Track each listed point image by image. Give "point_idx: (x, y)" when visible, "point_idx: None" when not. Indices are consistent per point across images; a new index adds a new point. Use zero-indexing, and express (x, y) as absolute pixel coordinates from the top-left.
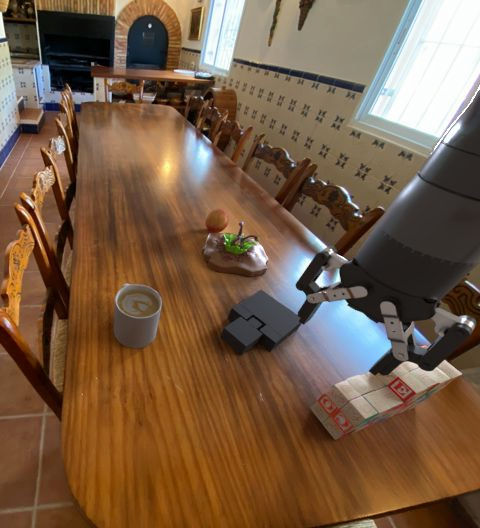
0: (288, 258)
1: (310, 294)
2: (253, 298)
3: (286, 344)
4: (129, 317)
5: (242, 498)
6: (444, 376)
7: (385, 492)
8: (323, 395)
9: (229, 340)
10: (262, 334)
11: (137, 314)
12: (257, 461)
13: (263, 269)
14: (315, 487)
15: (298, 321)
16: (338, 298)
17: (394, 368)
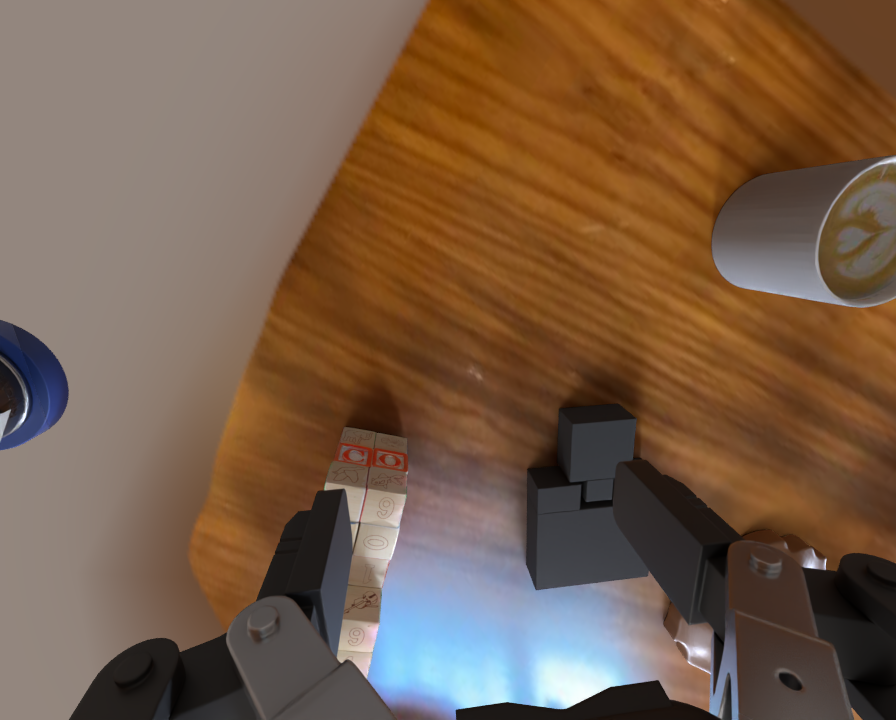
0: None
1: (802, 577)
2: None
3: (518, 513)
4: (860, 168)
5: (370, 185)
6: None
7: (248, 424)
8: (405, 467)
9: (602, 410)
10: (568, 482)
11: (844, 205)
12: (397, 264)
13: (677, 629)
14: (313, 324)
15: (540, 575)
16: (755, 680)
17: (274, 559)
